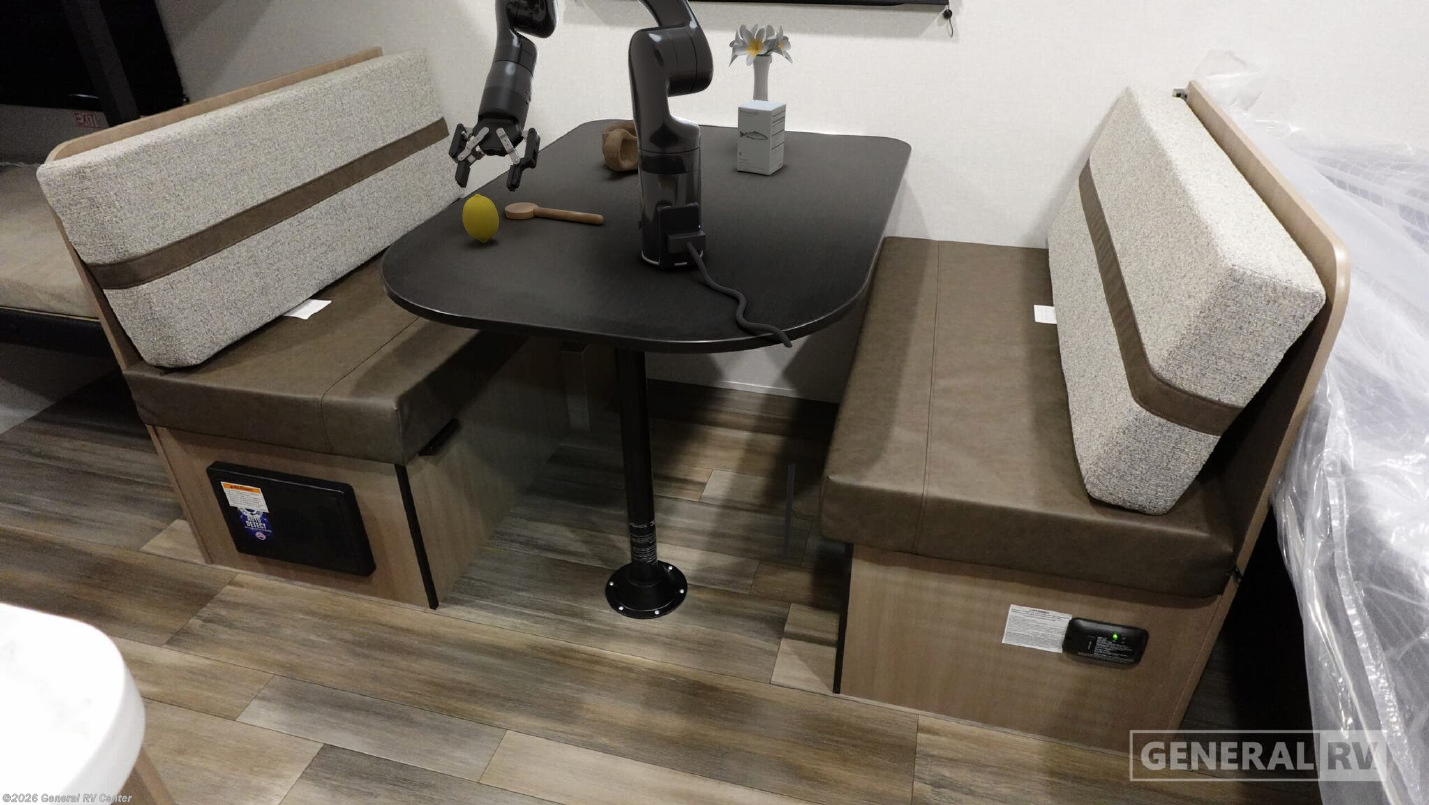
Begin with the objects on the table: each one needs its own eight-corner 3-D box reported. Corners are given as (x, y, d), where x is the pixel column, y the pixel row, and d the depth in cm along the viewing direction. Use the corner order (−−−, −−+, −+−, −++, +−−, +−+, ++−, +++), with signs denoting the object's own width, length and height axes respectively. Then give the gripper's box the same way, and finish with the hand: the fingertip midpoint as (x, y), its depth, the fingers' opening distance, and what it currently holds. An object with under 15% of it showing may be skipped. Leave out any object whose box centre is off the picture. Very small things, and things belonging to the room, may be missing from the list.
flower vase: (778, 135, 199) (782, 16, 186) (795, 158, 183) (800, 29, 171) (721, 137, 198) (721, 17, 185) (733, 160, 182) (734, 30, 169)
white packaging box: (735, 171, 176) (736, 105, 169) (751, 161, 181) (752, 98, 175) (769, 176, 173) (771, 109, 166) (784, 166, 178) (787, 102, 172)
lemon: (497, 248, 140) (490, 199, 136) (462, 248, 140) (454, 199, 136) (505, 236, 144) (498, 188, 140) (471, 236, 145) (464, 188, 140)
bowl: (666, 175, 168) (650, 123, 164) (599, 192, 172) (581, 142, 167) (681, 149, 183) (667, 101, 179) (619, 165, 187) (603, 119, 182)
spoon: (610, 219, 151) (610, 210, 151) (595, 230, 147) (595, 220, 146) (516, 207, 157) (515, 198, 156) (499, 217, 153) (498, 208, 152)
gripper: (456, 82, 142) (434, 173, 138) (539, 86, 139) (518, 178, 136) (475, 108, 149) (454, 195, 145) (555, 112, 146) (535, 201, 143)
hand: (485, 187), depth 141 cm, fingers open, 8 cm apart
